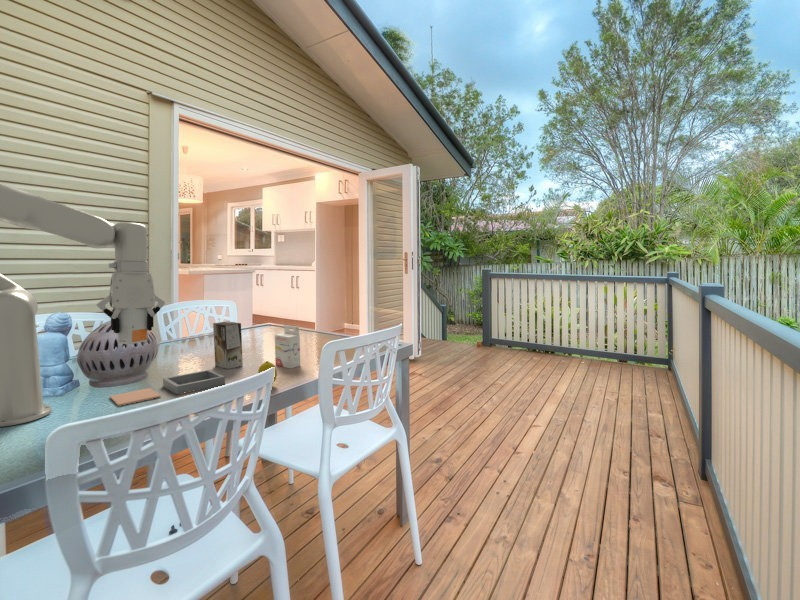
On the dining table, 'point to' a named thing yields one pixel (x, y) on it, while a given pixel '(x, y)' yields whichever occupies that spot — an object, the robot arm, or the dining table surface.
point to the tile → (134, 396)
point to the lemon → (267, 366)
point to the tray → (212, 381)
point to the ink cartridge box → (288, 348)
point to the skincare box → (132, 325)
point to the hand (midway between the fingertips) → (132, 330)
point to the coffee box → (228, 344)
